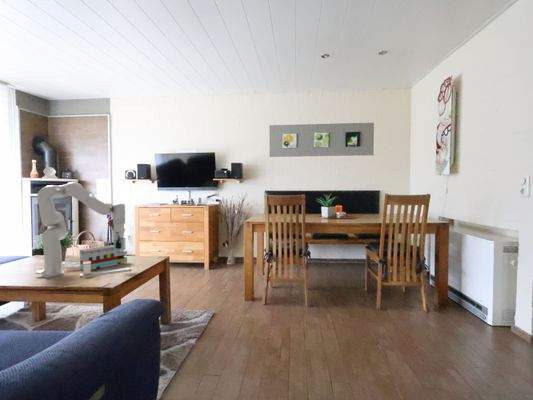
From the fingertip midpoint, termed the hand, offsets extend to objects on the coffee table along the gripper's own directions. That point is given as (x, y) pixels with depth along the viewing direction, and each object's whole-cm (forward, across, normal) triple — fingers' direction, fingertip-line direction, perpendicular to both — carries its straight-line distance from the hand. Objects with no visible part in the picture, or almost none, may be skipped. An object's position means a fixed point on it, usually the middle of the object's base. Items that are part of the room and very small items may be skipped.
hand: (119, 247), depth 211 cm
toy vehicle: (+17, -16, -14) cm, 27 cm away
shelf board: (+17, +3, -8) cm, 19 cm away
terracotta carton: (+16, +7, -18) cm, 25 cm away
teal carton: (+2, 0, 0) cm, 2 cm away
